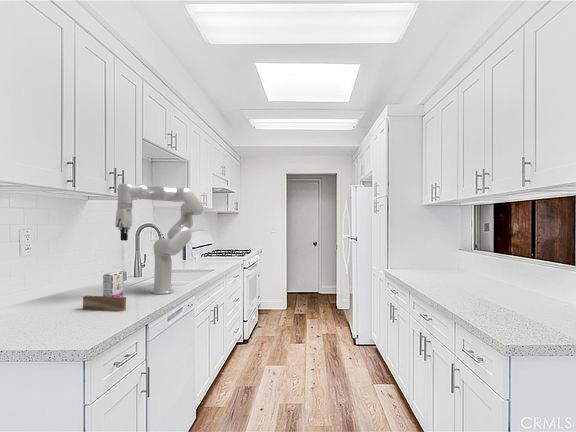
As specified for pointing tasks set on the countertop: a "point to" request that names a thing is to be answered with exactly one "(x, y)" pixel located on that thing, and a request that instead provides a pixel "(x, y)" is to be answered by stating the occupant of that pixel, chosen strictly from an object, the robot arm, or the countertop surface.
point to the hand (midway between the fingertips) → (124, 240)
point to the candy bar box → (113, 284)
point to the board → (104, 303)
